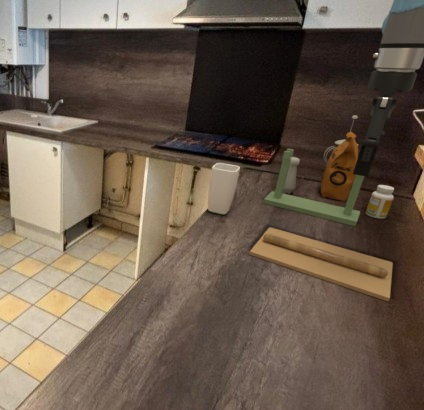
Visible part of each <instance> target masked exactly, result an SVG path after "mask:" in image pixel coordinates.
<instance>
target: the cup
mask: <svg viewBox="0 0 424 410" xmlns="http://www.w3.org/2000/svg"><path fill="white" fill-rule="evenodd" d="M240 170H241V166H239V165H235V164H229V163H224V162H216V163H215V164H213V166H211V172H210V178H209V184H208V194H207V195H208V196H207V210H208V212H210V213H213V214H217V215H220V216H224V215H226V214H228V212H229V211H230V209H231V206H232V202H233V201H234V196H235V193H236V188H237V185H238V181H239V176H240Z"/></svg>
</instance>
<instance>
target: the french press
mask: <svg viewBox="0 0 424 410" xmlns="http://www.w3.org/2000/svg"><path fill="white" fill-rule="evenodd" d="M358 118H359V116H358V115H354V114H353V115H352V116H351V119H353V120H352V124H351V126H350V131H349V132H352V129H353V125H354V122H355V120H357V119H358ZM345 140H346V139H339V140H336V141H334V144H335V145H336V146H335V145H331V146H329V147H328V148H327V149H325V151H324V153H323V161H324V162H325V163H326V164H327V163H328V159H326V157H327V156H328V154H329V152H330V151H331V150H332V149H333V151H334V150H335V149H336V148H337V146H339V145H340V144H341V143H343V142H344V141H345ZM358 144H359V143H357V146H359V145H358Z"/></svg>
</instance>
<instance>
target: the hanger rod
mask: <svg viewBox="0 0 424 410" xmlns="http://www.w3.org/2000/svg"><path fill="white" fill-rule="evenodd" d="M263 235H264V234H263ZM263 239H264V241H265V242H268V243H271V244H275V245H278V246H281V247H284V248H287V249H291V250H294V251H297V252H300V253H304V254H307V255H310V256H313V257H316V258H320V259H323V260H326V261H329V262H333V263H336V264H339V265H342V266H345V267H349V268H352V269H355V270H358V271H362V272H365V273H368V274H371V275H374V276H378V277H381V278H383V277H386V276H387V275H388V271H387V270H386V269H384V268H382V267H378V266H375V265H371V264H368V263H365V262H361V261H358V260H355V259H351V258H348V257H345V256H341V255H338V254H334V253H331V252H328V251H324V250H321V249H318V248H314V247H311V246H308V245H304V244H301V243H297V242H294V241H291V240H287V239H284V238H281V237H277V236H274V235H271V234H265V235H264V237H263Z"/></svg>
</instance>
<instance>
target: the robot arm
mask: <svg viewBox="0 0 424 410" xmlns="http://www.w3.org/2000/svg"><path fill="white" fill-rule="evenodd" d="M381 33H382V36H381V37H382V38H381V41H380V45H379V48H378V52H375V53H373V55H372V58H373V59H375V61H374V63H373V68H374V69H375V70H373V71H372V72H371V73H370V76H369V80H368V83H367V89H368V90H372V91H380V93H379V94H378V96H377V97H374V98H373V100H372V103H371V110H370V113H369V115H368V117H369V119H370V121H369V124H368V127H367V131H366V134H365V137H364V139H363V140H359V141H358V143H357V144H358V146H360V150H359V152H358V159H357V162H356V165H355V168H354V172H353V174H354V175H360V176H364V177H369V174H370V172H371V168H372V165H373V162H374V159H375V156H376V153H377V150H378V147H379V145H380V140H381V137H382V136H385V134H386V130H384V128H385V125H386V122H387V121H388V120H390V118H391V115H392V112H393V110H394V109H395V107H396V105H397V100H398V99H396V98H394V97H395V92H400V93H402V92H403V93H404V92H410V91H412V90H413V87H414V84H415V81H416V79H417V76H418V73H417V72H416V70H419V69H420V68H421V66H422V63H423V60H424V0H393V1H392V4H391V7H390V9H389V11H388V14H387V15H386V16H385V17H384V19H383V22H382V25H381Z"/></svg>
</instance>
